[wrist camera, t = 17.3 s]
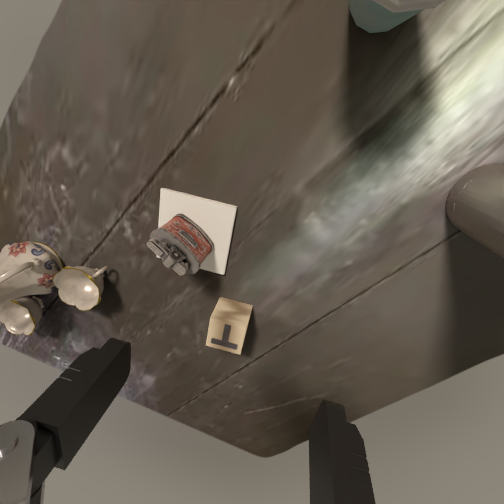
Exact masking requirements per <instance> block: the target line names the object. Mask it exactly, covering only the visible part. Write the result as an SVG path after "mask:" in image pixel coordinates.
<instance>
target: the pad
mask: <svg viewBox="0 0 504 504" xmlns="http://www.w3.org/2000/svg"><path fill="white" fill-rule="evenodd" d="M236 211H237V206H234V205H230V204H226V203H222V202H218V201H214V200H210V199H206V198H202V197H198V196H194V195H190V194H186V193H182V192H178V191H174V190H170V189H166V188H161V193H160V209H159V225H158V228H159V227H162V226H163V225H164V224H166V223H167V222H169V221H170V220H171V219H172V217H174V216H175V215H176V214H179V213H180V214H184V215H185V216H187V217H188V218H190V219H191V220H193V221H194V222H195V223H196V224H198V225H199V226H200V227H201V228H202V229H203V230H204V231H205V232H206V233H207V235H208V236H209V237H210V239H211V240H212V241H213V243H214V249H213V250H212V252H211V253H210V254H208V255H207V257H206V258H205V259H204V261H203V262H202V263H201V266H200V269H203V270H207V271H211V272H215V273H218V274H222V275H224V274H225V270H226V264H227V259H228V254H229V248H230V243H231V238H232V232H233V227H234V222H235V216H236ZM157 257H158V258H160V257H159V256H158V255H157Z"/></svg>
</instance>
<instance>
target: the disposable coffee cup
mask: <svg viewBox="0 0 504 504" xmlns="http://www.w3.org/2000/svg"><path fill="white" fill-rule="evenodd" d="M443 1H445V0H349V10H350V12H351V15H352V17H353V19H354V21H355V24H356V25H357V26H358V27H360V28H362V29H363V30H365V31H367V32H369V33H377V32H387V31H389V30H390V29H392V28H394V27H396V26H397V25H399V24H401V23H402V22H404V21H406V20H408V19H409V18H411V17H413V16H414V15H416V14H418V13H419V12H421V11H423V10H425V9H430V8H435V7H436V6H438V5H439V4H441V3H442V2H443Z"/></svg>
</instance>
